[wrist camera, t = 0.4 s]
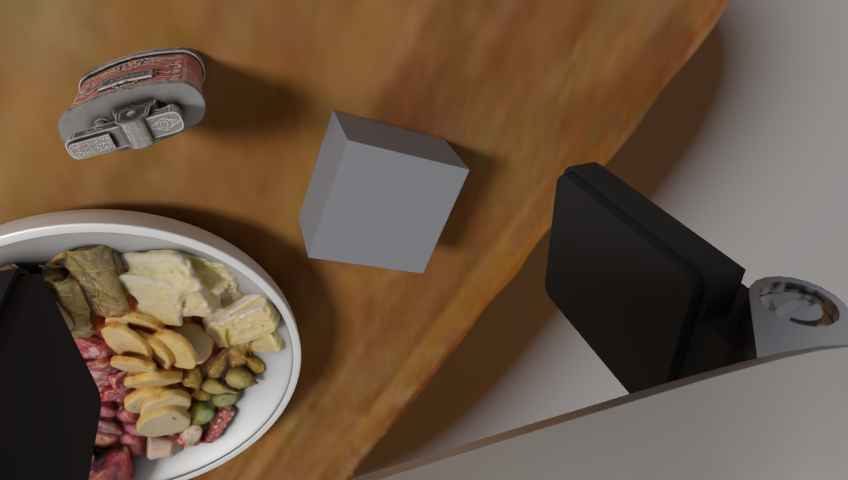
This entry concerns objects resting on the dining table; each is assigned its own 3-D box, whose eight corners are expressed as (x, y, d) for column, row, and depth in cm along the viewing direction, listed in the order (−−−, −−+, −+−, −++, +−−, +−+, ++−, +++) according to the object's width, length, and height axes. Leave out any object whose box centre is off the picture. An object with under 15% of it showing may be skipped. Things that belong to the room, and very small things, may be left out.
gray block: (332, 108, 44) (347, 140, 39) (443, 138, 48) (469, 169, 44) (298, 217, 48) (308, 257, 44) (403, 235, 53) (422, 273, 48)
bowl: (-125, 156, 36) (-191, 219, 30) (327, 217, 49) (345, 269, 43) (-84, 461, 50) (-125, 548, 44) (262, 446, 63) (268, 511, 57)
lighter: (193, 37, 38) (190, 86, 30) (213, 84, 40) (215, 142, 32) (69, 69, 37) (33, 129, 29) (96, 117, 39) (69, 185, 31)
